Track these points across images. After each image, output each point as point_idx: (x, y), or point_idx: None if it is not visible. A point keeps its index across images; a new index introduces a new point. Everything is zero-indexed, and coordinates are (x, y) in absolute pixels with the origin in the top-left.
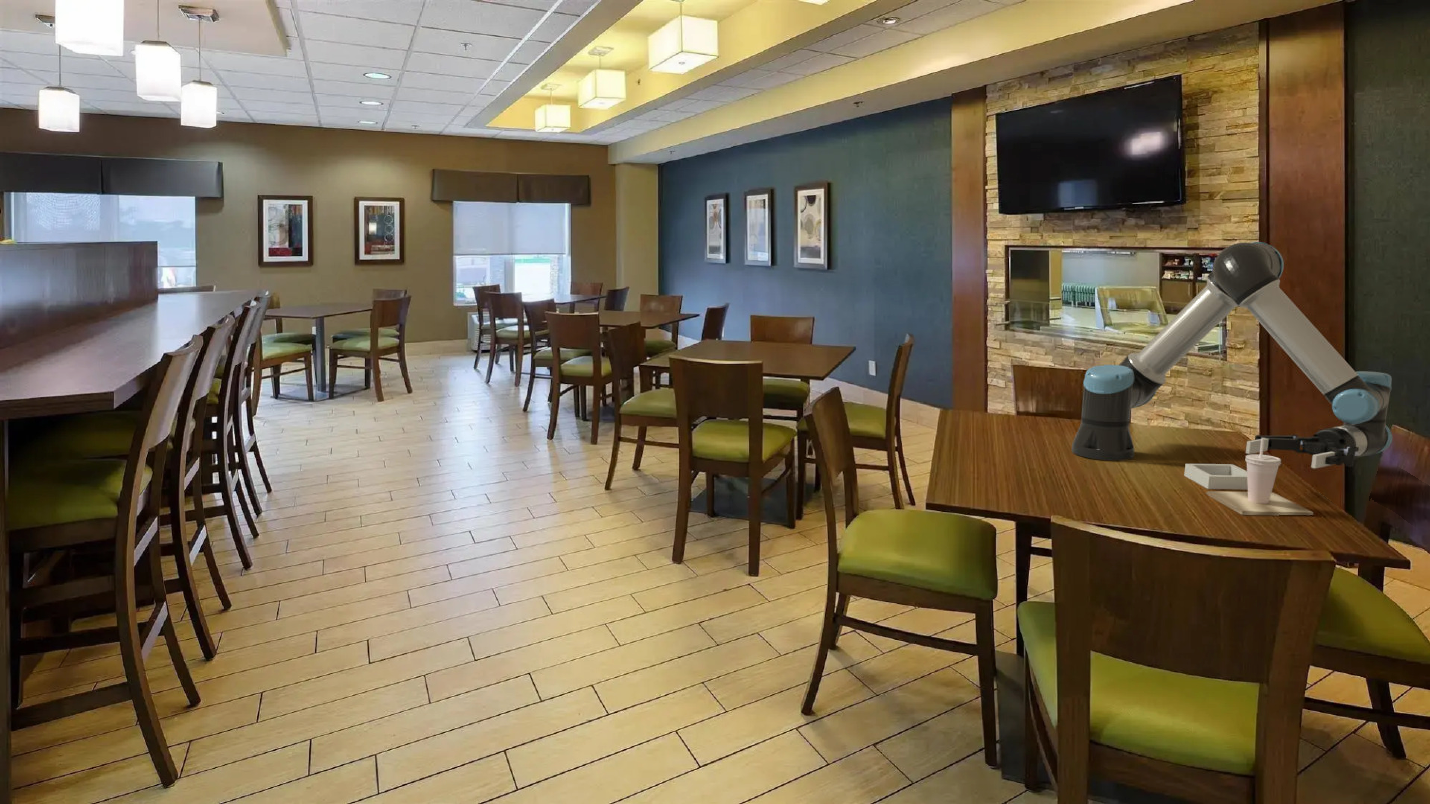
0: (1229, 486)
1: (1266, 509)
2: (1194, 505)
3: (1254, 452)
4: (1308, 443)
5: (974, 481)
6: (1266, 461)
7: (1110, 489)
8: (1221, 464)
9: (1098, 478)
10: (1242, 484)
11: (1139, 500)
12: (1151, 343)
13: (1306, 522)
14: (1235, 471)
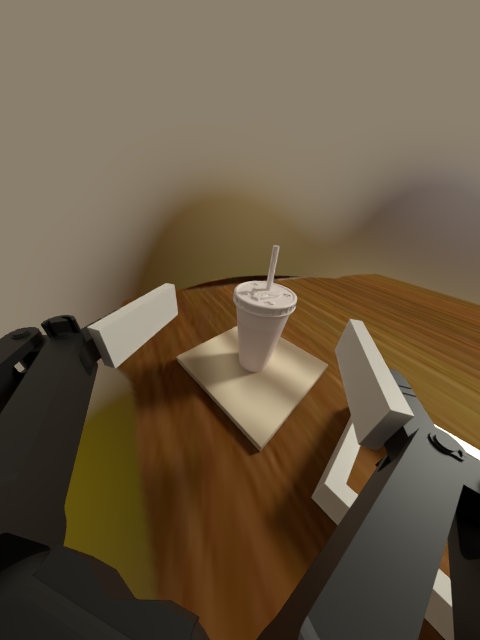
0: (344, 431)
1: (232, 336)
2: (298, 325)
3: (340, 368)
4: (169, 612)
5: (426, 295)
6: (250, 281)
7: (383, 326)
8: None
9: (446, 352)
10: (334, 452)
11: (335, 313)
12: None
13: (185, 335)
14: None
